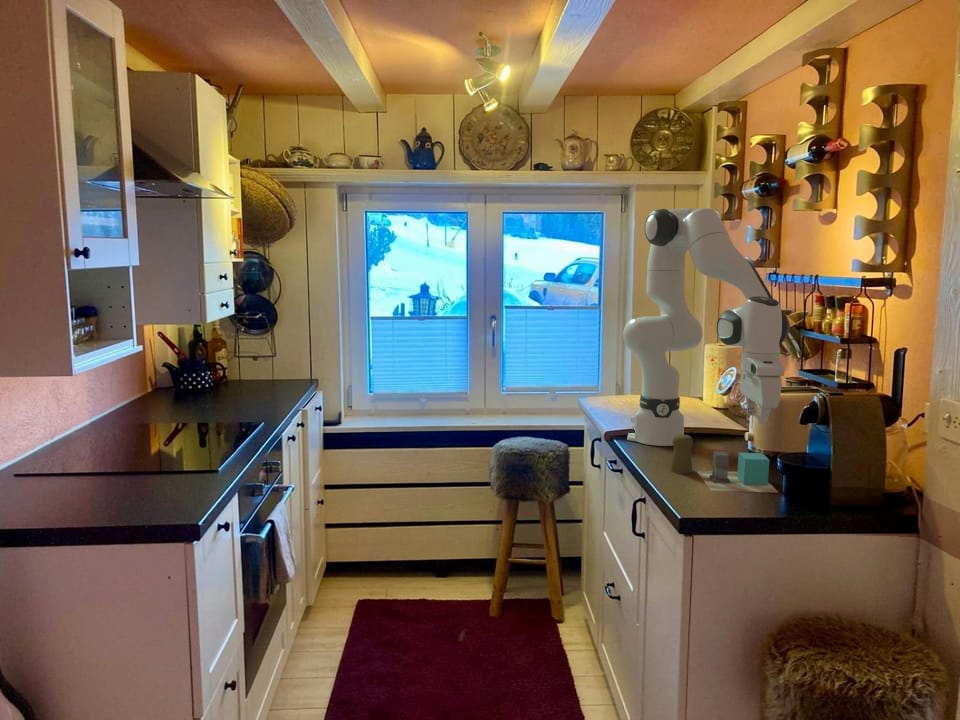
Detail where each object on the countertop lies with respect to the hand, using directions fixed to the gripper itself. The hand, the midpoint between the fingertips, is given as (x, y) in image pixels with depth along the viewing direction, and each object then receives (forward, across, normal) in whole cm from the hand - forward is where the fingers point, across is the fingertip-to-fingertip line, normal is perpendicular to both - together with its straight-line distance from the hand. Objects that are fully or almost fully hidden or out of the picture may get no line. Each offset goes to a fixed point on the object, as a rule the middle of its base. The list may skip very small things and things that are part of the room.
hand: (756, 419), depth 180 cm
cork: (+18, -8, -16) cm, 25 cm away
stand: (+18, 0, -4) cm, 18 cm away
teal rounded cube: (+16, 0, 0) cm, 16 cm away
